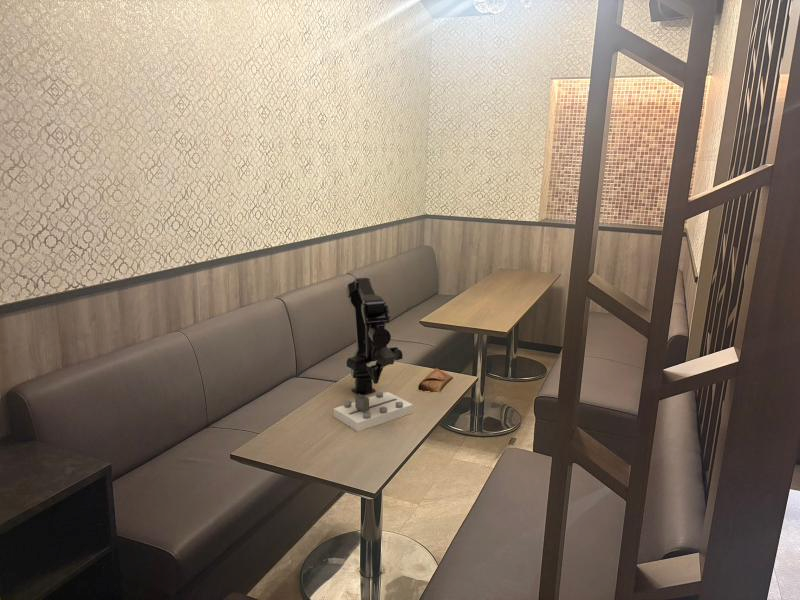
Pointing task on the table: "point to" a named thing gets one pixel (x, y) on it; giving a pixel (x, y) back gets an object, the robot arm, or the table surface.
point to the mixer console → (373, 411)
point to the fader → (362, 403)
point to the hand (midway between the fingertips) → (375, 383)
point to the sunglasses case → (435, 381)
